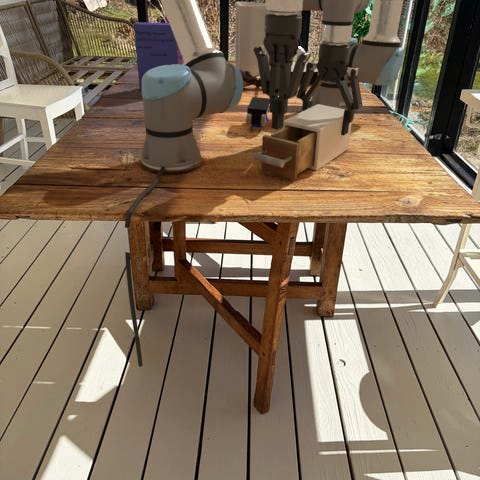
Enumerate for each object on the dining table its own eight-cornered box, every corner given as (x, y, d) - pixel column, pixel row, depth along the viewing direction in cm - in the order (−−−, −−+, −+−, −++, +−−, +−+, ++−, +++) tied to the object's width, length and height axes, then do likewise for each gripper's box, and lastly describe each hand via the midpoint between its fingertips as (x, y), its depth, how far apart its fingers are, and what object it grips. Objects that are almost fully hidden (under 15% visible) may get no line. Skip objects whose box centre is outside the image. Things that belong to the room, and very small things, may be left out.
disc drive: (287, 84, 198) (287, 71, 196) (281, 72, 218) (282, 61, 215) (329, 84, 199) (330, 72, 196) (320, 72, 218) (321, 61, 216)
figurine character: (266, 138, 144) (270, 118, 156) (267, 114, 140) (271, 95, 151) (244, 136, 145) (250, 117, 157) (244, 113, 140) (250, 94, 152)
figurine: (210, 87, 179) (288, 95, 182) (212, 65, 176) (291, 73, 180) (208, 84, 201) (278, 91, 205) (210, 64, 198) (280, 71, 202)
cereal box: (185, 88, 190) (183, 22, 177) (183, 91, 186) (180, 24, 173) (142, 87, 190) (136, 21, 178) (139, 90, 186) (133, 23, 174)
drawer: (282, 188, 109) (284, 151, 105) (248, 177, 114) (249, 142, 110) (328, 157, 125) (331, 124, 120) (296, 149, 130) (299, 117, 125)
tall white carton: (273, 76, 210) (276, 6, 196) (239, 77, 209) (240, 6, 194) (266, 67, 226) (268, 2, 212) (235, 67, 225) (235, 1, 210)
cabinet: (316, 170, 120) (320, 129, 115) (280, 160, 126) (282, 121, 120) (348, 148, 133) (353, 110, 127) (314, 140, 138) (317, 104, 133)
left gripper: (321, 13, 95) (310, 129, 107) (266, 9, 102) (262, 118, 114) (302, 17, 90) (293, 137, 102) (246, 11, 97) (244, 125, 109)
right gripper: (385, 46, 115) (371, 134, 126) (301, 36, 126) (295, 118, 138) (373, 50, 110) (359, 142, 121) (287, 39, 121) (281, 124, 133)
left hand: (277, 127), depth 108 cm, fingers closed
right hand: (325, 129), depth 129 cm, fingers closed on cabinet, 11 cm apart
